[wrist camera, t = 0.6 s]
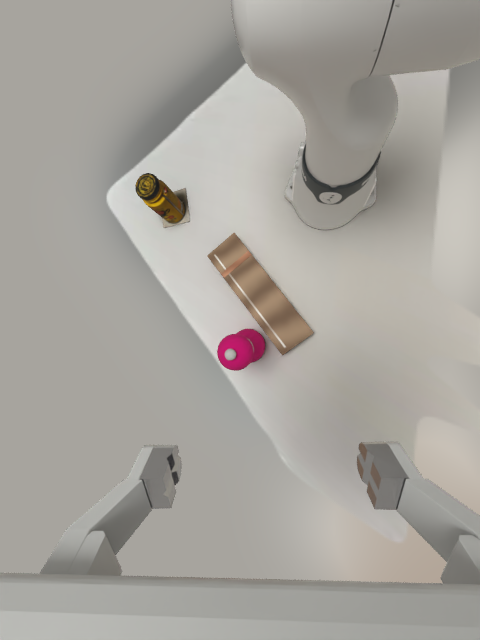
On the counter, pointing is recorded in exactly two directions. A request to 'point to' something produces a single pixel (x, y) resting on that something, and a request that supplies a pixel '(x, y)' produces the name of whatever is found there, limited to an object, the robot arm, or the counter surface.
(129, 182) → the counter surface
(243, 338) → the pepper mill
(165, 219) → the condiment
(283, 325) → the board
